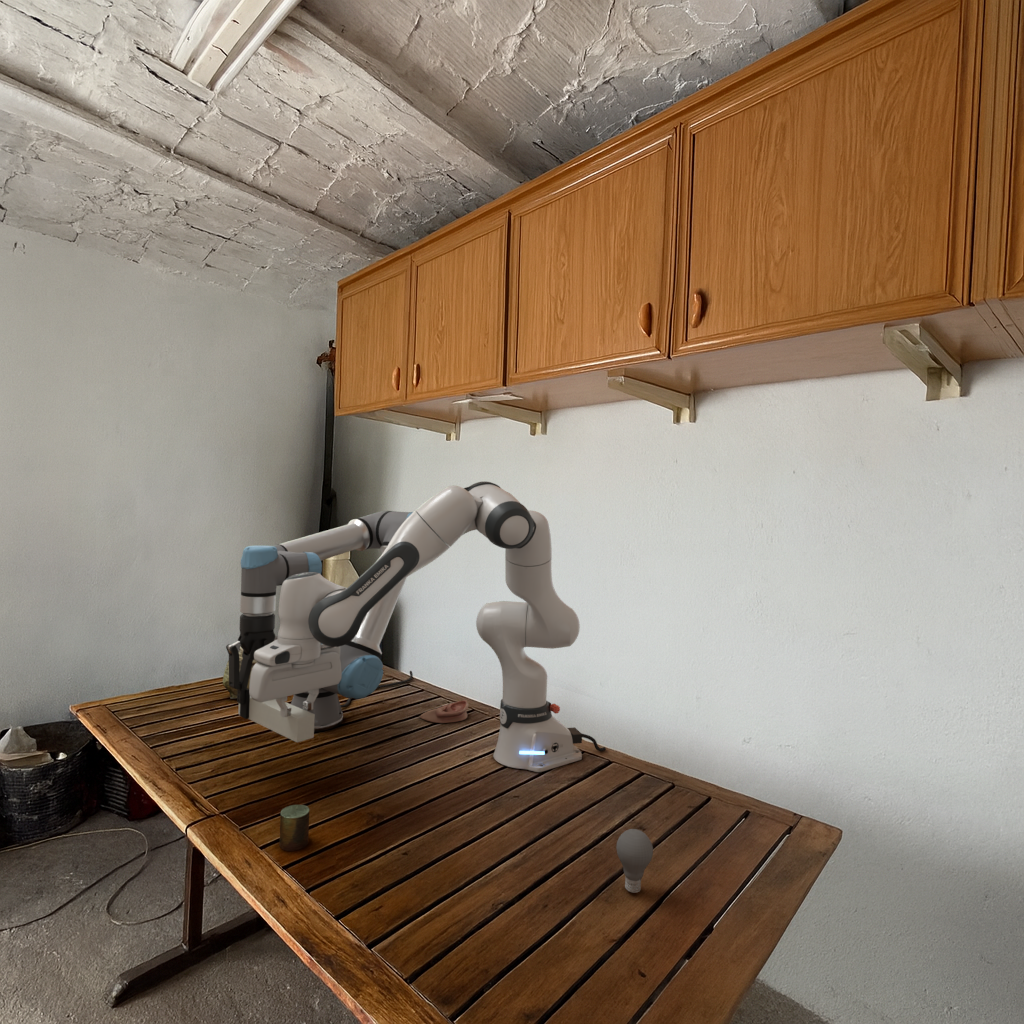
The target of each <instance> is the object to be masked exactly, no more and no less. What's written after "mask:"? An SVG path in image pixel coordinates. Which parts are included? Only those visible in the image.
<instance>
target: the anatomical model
mask: <svg viewBox="0 0 1024 1024" xmlns="http://www.w3.org/2000/svg"><path fill="white" fill-rule="evenodd" d="M468 708H469V702H468V700H465V699H462V700H459V701H458V700H457V701H454V702H451V703H448V704H446V705H443V706H439V707H436V708H433V709H430V710H427V711H425V712H423V713H421V714H420V715H419V718H420V719H421V720H425V721H427V722H431V723H436V724H445V723H447V724H449V723H457V722H461V721H464V720H466V719H467V718H468V712H467V711H468Z"/></svg>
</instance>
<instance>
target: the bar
mask: <svg viewBox="0 0 1024 1024" xmlns="http://www.w3.org/2000/svg"><path fill="white" fill-rule="evenodd" d="M285 704H286V706H288V707H290V708H291V716H287V717H282V716H281V715H280V707H279V705H278V703H277V702H276V699H274V700H269V701H265V702H258V701H255V700H253V699H252V698H251V697H250V704H249V718H248V719H247V720H249V721H251V722H253V723H255V724H258V725H260V726H262V727H264V728H266V729H268V730H270V731H272V732H274V733H276V734H278V735H280V736H283V737H284V738H286V739H288V740H291V741H293V742H294V743H301V742H303V741H307V740H310V739H314V737H315V732H314V718H315V714H313V713H310V712H308V711H306V710H303V709H301V708H298V707H296V706H294V705H291V703H289V702H288V701H285ZM237 710H238V711H237V712H238V713H237V714H238V715H239V716H240V704H239V703H238V709H237Z"/></svg>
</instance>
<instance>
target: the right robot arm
mask: <svg viewBox="0 0 1024 1024" xmlns="http://www.w3.org/2000/svg"><path fill="white" fill-rule="evenodd" d="M412 512H413V513H412V514H411V515H410V516H409V517H408V518H407V519H406V520H405V521H404V522H403V524H402V525H401V526H400V527H399V529H398V530H397V531H396V533H395V534H394V536H393V537H392V539H391V541H390V542H389V544H388V546H387V548H386V549H385V551H384V552H383V554H382V553H381V555H380V556H379V558H377V560H376V561H375V562H374V563H373V564H372V565H371V566H370V567H368V569H366V570H365V571H364V572H363V573H362V574H361V575H360V576H359V577H357V579H356V580H355V581H353V582H352V583H351V584H350V585H349V586H348V587H346V586H343V585H340V584H337V583H335V582H333V581H331V580H329V579H327V578H326V577H324V576H323V575H322V573H321V574H320V573H317V572H305V573H299V574H295V575H292V576H290V577H288V578H287V579H285V581H284V582H283V584H282V585H281V587H280V592H279V600H278V618H279V628H278V632H277V637H278V639H277V640H275V641H273V642H272V643H270V644H268V645H266V646H264V647H262V648H260V649H258V650H256V651H255V653H254V659H255V660H256V661H258V662H257V663H256V664H255V665H254V666H253V668H252V671H251V677H250V686H249V694H250V697H251V698H252V699H253V700H255V701H258V702H265V701H269V700H274V699H276V702H277V703H278V705H279V707H280V715H281V716H282V717H287V716H291V708H290V707H288V706H286V704H285V702H288V697H291V696H294V695H295V694H299V693H303V692H307V691H308V693H309V695H308V698H307V700H306V701H304V702H303V710H306V711H310V710H313V703H314V701H315V699H316V697H317V696H318V694H319V689H320V688H324V687H328V686H332V685H337V684H339V682H340V680H341V677H342V674H341V661H340V647H339V646H342V645H345V644H347V643H349V642H350V641H351V640H352V639H353V638H354V637H355V636H356V634H357V633H358V631H359V629H360V626H361V624H362V623H363V621H364V619H365V617H366V614H367V613H368V612H369V611H370V610H371V609H372V608H373V607H374V606H375V605H376V604H377V603H378V602H379V601H380V600H381V599H382V598H383V597H384V596H385V595H386V594H387V593H388V592H389V591H390V590H391V589H393V588H394V587H395V586H396V585H397V584H398V583H399V582H401V581H402V580H403V579H405V578H406V577H407V578H408V577H409V576H411V575H413V574H415V573H416V572H418V571H420V570H421V569H423V568H425V567H426V566H428V565H429V564H431V563H432V562H434V561H436V560H437V559H438V558H440V557H441V556H442V555H443V554H444V553H446V552H447V551H448V550H449V549H450V548H451V547H452V546H453V545H454V544H456V543H457V541H458V540H459V539H460V538H461V537H462V536H463V535H465V534H467V533H469V532H472V531H478V532H479V533H480V535H481V534H482V535H483V536H484V537H485V538H487V540H488V541H489V542H490V543H491V544H492V545H495V546H497V547H499V548H501V549H505V551H504V553H505V554H504V556H505V557H504V559H505V560H504V563H505V564H504V566H505V567H504V569H505V570H504V571H505V575H504V576H505V580H504V581H505V584H506V587H507V588H508V590H509V591H510V593H512V594H513V595H515V596H516V597H518V598H519V599H521V600H522V601H508V600H506V601H505V600H501V601H493V602H486V603H485V604H484V605H482V607H481V608H480V609H479V611H478V613H477V617H476V621H475V624H476V625H475V626H476V631H477V633H478V636H479V637H480V638H481V639H482V641H484V643H486V644H487V645H488V646H489V647H490V648H491V649H492V651H493V652H494V654H495V656H496V658H497V659H498V662H499V664H500V668H501V675H502V677H501V678H502V696H501V697H502V698H501V700H500V706H499V724H500V725H499V731H498V737H497V741H496V744H495V745H496V746H495V749H494V751H493V754H492V757H493V759H494V760H495V762H496V763H499V764H501V765H502V766H505V767H509V768H513V769H518V770H519V769H521V770H526V771H527V770H528V771H531V772H533V773H542V772H546V771H549V770H552V769H556V768H559V767H562V766H566V765H568V764H571V763H575V762H578V761H581V760H582V759H583V753H582V752H581V750H580V749H579V747H577V746H576V745H578V744H583V738H585V739H587V740H589V741H590V742H592V744H593V746H594V748H595V750H596V751H598V752H601V753H603V752H606V751H607V748H606V747H605V746H604V747H600V746H599V745H598V742H597V740H596V739H595V738H594V737H592V736H591V735H588V734H585V733H582V732H581V731H579V730H578V729H577V728H576V727H566V725H564V724H563V723H562V722H561V721H560V720H559V719H557V718H556V717H554V716H553V714H552V712H553V713H554V714H559V713H560V711H561V707H560V706H559V705H558V704H556V703H552V702H550V701H548V700H547V697H548V673H547V670H546V669H545V667H544V666H543V665H542V664H541V663H539V662H538V661H537V660H535V659H532V658H531V657H529V656H528V655H527V653H526V651H525V648H538V649H550V650H553V649H561V648H569V647H571V646H572V645H573V644H574V643H575V642H576V641H577V639H578V637H579V634H580V630H581V625H580V620H579V616H578V615H577V613H576V611H575V610H574V608H572V607H570V606H569V605H568V604H566V603H565V602H564V601H563V600H562V599H561V598H560V596H559V595H558V593H557V591H556V590H555V587H554V584H553V573H552V559H553V557H552V556H553V555H552V551H553V549H552V548H553V547H552V535H551V530H550V524H549V521H548V519H547V518H546V516H545V515H544V514H543V513H541V512H538V511H536V510H529V509H528V508H527V507H526V506H525V505H524V504H523V503H521V502H520V501H519V500H518V499H517V498H516V497H515V496H514V495H513V494H512V493H510V492H508V491H506V490H505V489H503V488H502V487H501V486H500V485H498V484H496V483H494V482H491V481H478V482H475V483H473V484H470V485H469V486H466V487H461V486H459V485H449V486H447V487H445V488H443V489H441V490H439V491H438V492H436V493H435V494H434V495H432V496H431V497H430V498H428V499H427V500H425V502H423V503H422V504H420V505H419V506H418V507H417V508H416V509H415V510H413V511H412ZM407 578H406V579H407ZM524 601H525V602H524ZM321 643H322V645H321ZM575 744H576V745H575Z"/></svg>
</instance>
